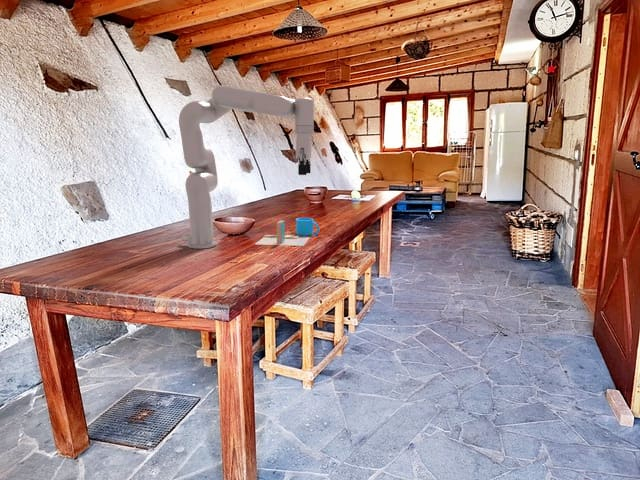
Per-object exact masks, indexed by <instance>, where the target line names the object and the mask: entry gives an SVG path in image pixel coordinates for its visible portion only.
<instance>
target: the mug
mask: <svg viewBox="0 0 640 480" xmlns="http://www.w3.org/2000/svg"><path fill="white" fill-rule="evenodd" d="M314 226H316V228H317V229H316V232H315V233H314ZM295 228H296V229H295V230H296V231H295V233H296V235H297V236H311V235H312V236H317V235H318V234H319V232H320V230H321V229H320V226H319V224H318V223H317V222H315V221H314V218H311V217H299V218H296V219H295Z"/></svg>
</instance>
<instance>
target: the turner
mask: <svg viewBox="0 0 640 480" xmlns="http://www.w3.org/2000/svg"><path fill="white" fill-rule="evenodd" d="M263 237H273V238H277V234H264V235H263ZM299 237H300V235H297V234H296V235H293V234H289V235H288V234H287V235H285V239H298V238H299Z"/></svg>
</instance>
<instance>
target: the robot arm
mask: <svg viewBox="0 0 640 480" xmlns="http://www.w3.org/2000/svg"><path fill="white" fill-rule="evenodd" d="M314 108H315V104H314V99H312V98H309V97H297V98H296V99H292V98H289V97H285V96H281V95H276V94H270V93H264V92H260V91H256V90H252V89H246V88H241V87H235V86H231V85H225V84H221V85H220V84H219V85H217V86H215V87H214V88H213V90H212V93H211V98H210V99H209V100H207V101H202V100H194V101H190V102H188V103H186V104H185V105H184V106H183V108H182V109H181V110H180V113H179V116H178V126H179V132H180V138H181V145H182V151H183V152H182V153H183V159H184V163H185V164H186V166H187V167H188V168H191V169H194V171H195V172H191V173H190V174H189V175H188V176H187V178H186V180H185V191H186V197H187V202H188V204H187V205H188V217H189V218H188V219H189V220H188V221H189V235H182V236H181V240H182V241H183V242H188V243H186V244H187V248H189V249H197V250H199V249H203V250H204V249H210V248H215V247H217V246H218V242H217V240H214V224H213V207H212V205H213V204H212V199H211V194H210V193H211V192H214V190H216V188H217V186H218V183H219V182H218V181H219V179H218V178H219V177H218V173H217V165H216V159H215V154H214V152H213V150H212V149H211V148H210V147H208V146H206V145H205V144H204V137H203V133H202V129H201V126H200V124H201V123H202V124H212V123H214V122H216V121H217V120H219V119H220V118H221V117H223V116H225V115H226V114H228V113H229V112H230V111H232V110H236V111H242V112H247V113H258V114H265V115H269V116H275V117H280V118H286V119H289V118H290V119H291V118H294V135H296V141H295V145H296V146H295V159H296V160H298V162H297V163H298V164H297V165H298V166H297V167H298V173H297V174H298V176H307V174H311V159H312V135H314V134H315V131H314V129H315V125H314V124H315V123H314V122H315V120H314V119H315V117H314V116H315V113H314V111H315V109H314Z"/></svg>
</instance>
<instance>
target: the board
mask: <svg viewBox="0 0 640 480" xmlns="http://www.w3.org/2000/svg"><path fill="white" fill-rule="evenodd" d="M310 238H311V236H299V238H298V239H285V240H284V241H283V242H282V243H281V244H277V238H273V237H264V236H263V237H262V238H261V239H260V240H258V241H256V243H255V245H267V246H268V245H269V246H293V247H294V246H298V247H299V246H300V247H304V246H305V244H306V243H307V242H308V241H309V239H310Z"/></svg>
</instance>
